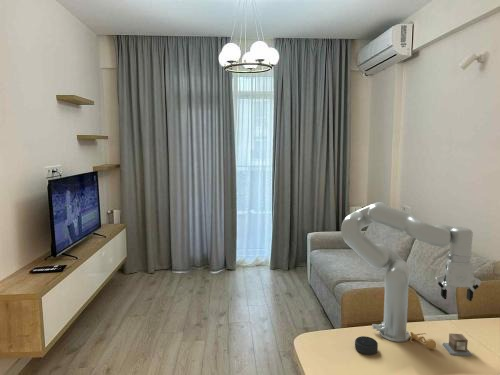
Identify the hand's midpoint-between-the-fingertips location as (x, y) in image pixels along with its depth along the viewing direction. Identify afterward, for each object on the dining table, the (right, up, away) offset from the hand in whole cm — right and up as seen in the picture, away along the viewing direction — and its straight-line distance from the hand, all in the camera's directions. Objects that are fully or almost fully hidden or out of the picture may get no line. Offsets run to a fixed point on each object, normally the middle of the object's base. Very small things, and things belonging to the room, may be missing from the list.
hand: (456, 298), depth 152 cm
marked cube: (0, -20, 0) cm, 20 cm away
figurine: (-9, -20, -1) cm, 22 cm away
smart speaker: (-37, -21, 0) cm, 43 cm away
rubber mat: (0, -21, 0) cm, 21 cm away
